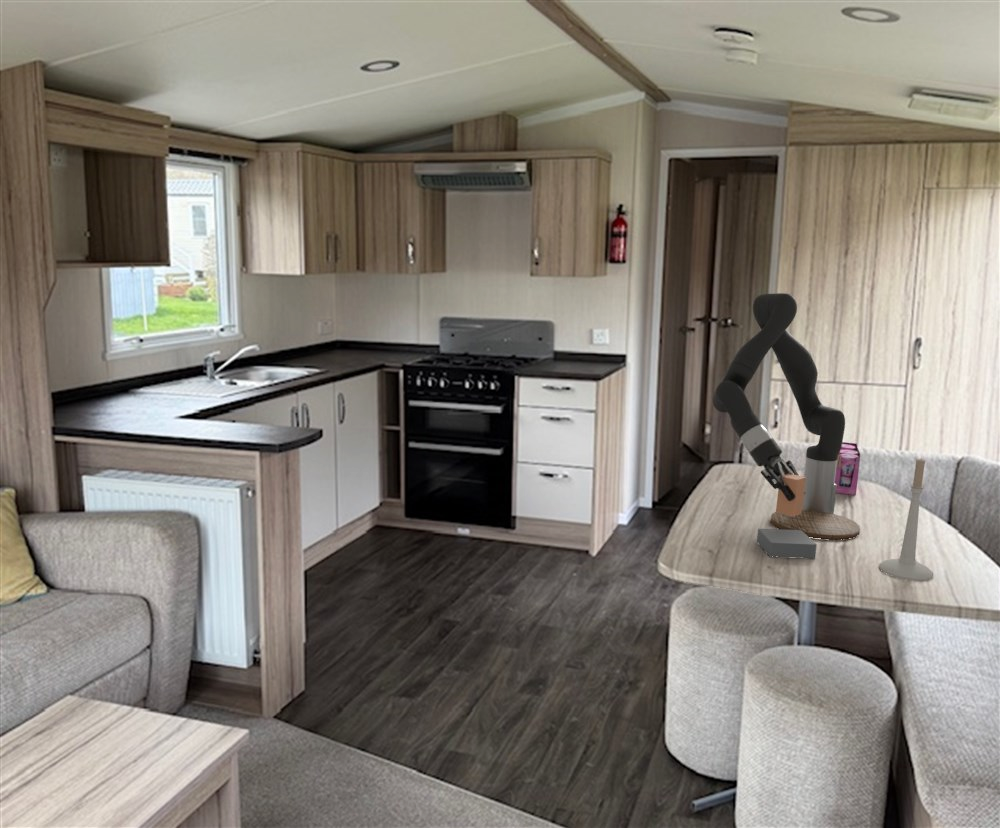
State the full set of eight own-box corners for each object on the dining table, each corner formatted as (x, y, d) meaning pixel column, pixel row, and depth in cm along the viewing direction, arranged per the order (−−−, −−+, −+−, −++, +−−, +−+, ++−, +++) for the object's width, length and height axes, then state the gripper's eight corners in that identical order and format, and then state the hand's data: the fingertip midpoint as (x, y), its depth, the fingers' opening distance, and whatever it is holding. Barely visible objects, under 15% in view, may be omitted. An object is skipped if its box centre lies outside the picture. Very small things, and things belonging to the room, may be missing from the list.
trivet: (866, 545, 254) (867, 538, 253) (774, 536, 258) (775, 529, 258) (851, 519, 278) (851, 513, 278) (766, 511, 283) (767, 506, 282)
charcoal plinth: (799, 544, 251) (801, 530, 250) (815, 558, 239) (816, 544, 239) (756, 542, 251) (758, 528, 250) (769, 557, 239) (771, 542, 238)
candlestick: (887, 559, 242) (901, 449, 236) (939, 571, 234) (955, 458, 228) (872, 571, 232) (886, 457, 226) (925, 584, 224) (941, 467, 218)
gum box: (856, 496, 304) (861, 457, 302) (831, 493, 307) (836, 454, 304) (853, 480, 327) (857, 443, 324) (829, 477, 329) (834, 440, 326)
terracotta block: (784, 508, 247) (788, 473, 245) (801, 513, 243) (806, 477, 241) (775, 512, 243) (779, 476, 241) (793, 516, 240) (797, 480, 238)
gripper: (758, 440, 239) (795, 494, 234) (783, 434, 250) (819, 486, 244) (737, 456, 244) (774, 509, 238) (763, 449, 254) (799, 500, 248)
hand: (797, 497), depth 241 cm, fingers closed on terracotta block, 5 cm apart
